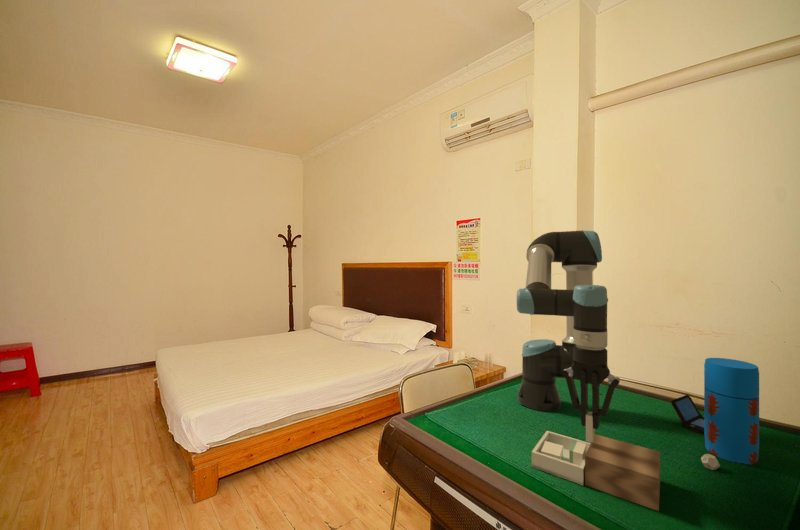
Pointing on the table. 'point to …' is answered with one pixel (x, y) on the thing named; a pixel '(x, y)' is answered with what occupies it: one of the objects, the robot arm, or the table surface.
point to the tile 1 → (552, 450)
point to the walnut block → (624, 471)
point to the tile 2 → (577, 453)
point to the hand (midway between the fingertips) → (590, 439)
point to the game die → (710, 461)
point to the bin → (556, 465)
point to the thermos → (731, 409)
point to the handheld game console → (688, 413)
